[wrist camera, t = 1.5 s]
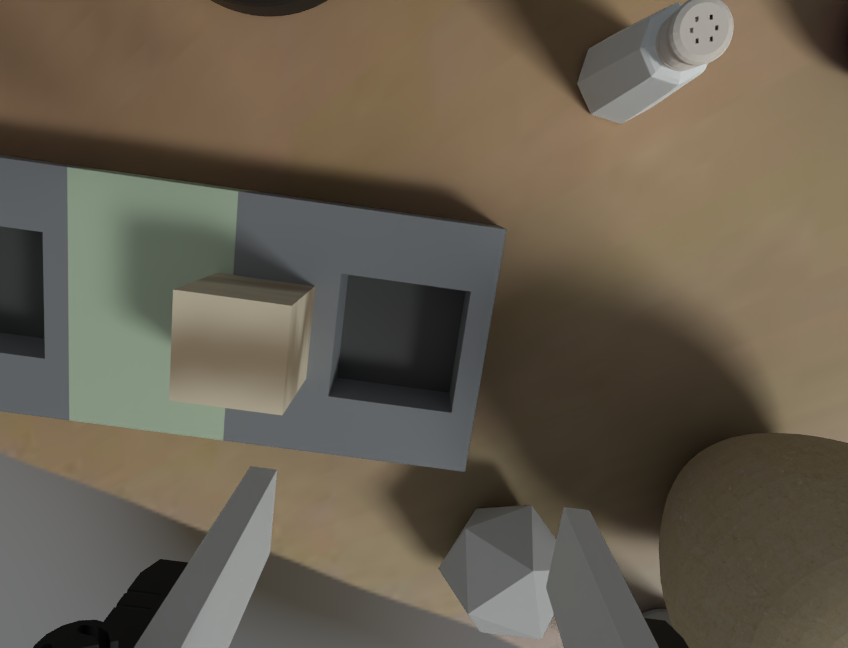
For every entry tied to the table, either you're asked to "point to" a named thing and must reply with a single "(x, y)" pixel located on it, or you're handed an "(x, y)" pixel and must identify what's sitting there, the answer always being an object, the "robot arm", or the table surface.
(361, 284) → the board
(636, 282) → the table surface
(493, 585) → the die
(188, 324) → the birch block
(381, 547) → the table surface
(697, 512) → the vase
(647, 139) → the table surface
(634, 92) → the pepper shaker
